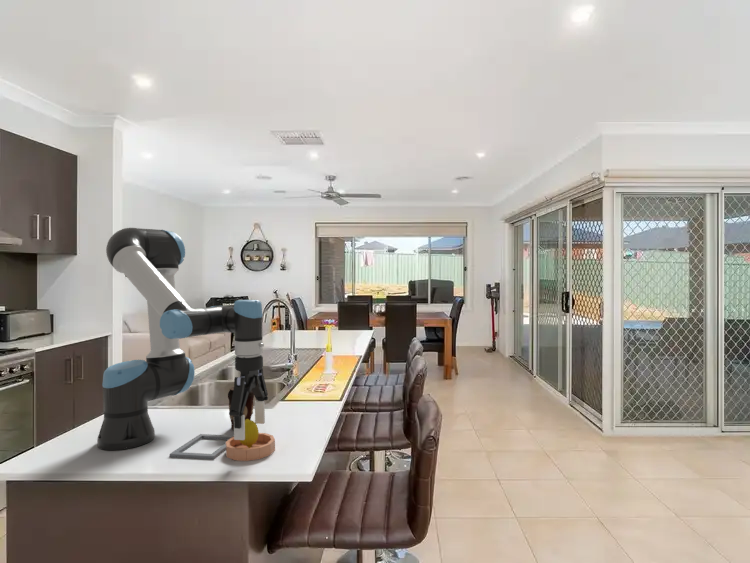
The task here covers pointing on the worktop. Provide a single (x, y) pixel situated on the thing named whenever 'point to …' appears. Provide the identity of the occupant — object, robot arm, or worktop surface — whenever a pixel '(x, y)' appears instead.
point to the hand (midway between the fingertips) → (250, 431)
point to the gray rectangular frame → (215, 454)
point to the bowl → (257, 451)
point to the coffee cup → (248, 407)
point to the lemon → (250, 433)
